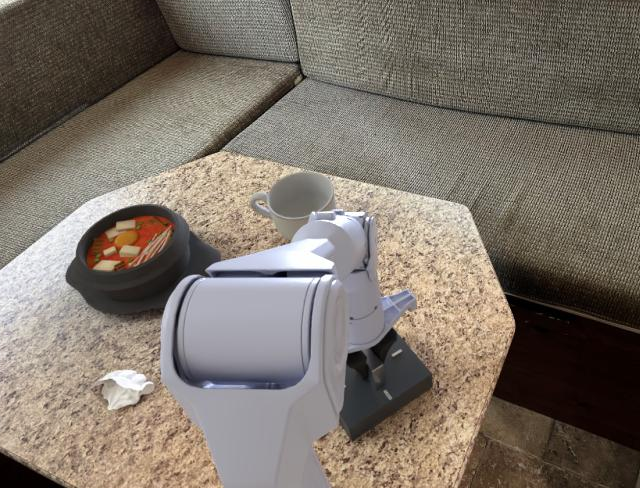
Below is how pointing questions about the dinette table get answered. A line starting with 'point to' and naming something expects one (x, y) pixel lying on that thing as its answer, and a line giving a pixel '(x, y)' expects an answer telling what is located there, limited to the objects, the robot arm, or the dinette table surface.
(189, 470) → the dinette table surface
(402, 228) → the dinette table surface
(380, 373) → the tap handle
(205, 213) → the dinette table surface
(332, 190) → the teacup
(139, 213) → the casserole
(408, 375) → the block
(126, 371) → the tissue
